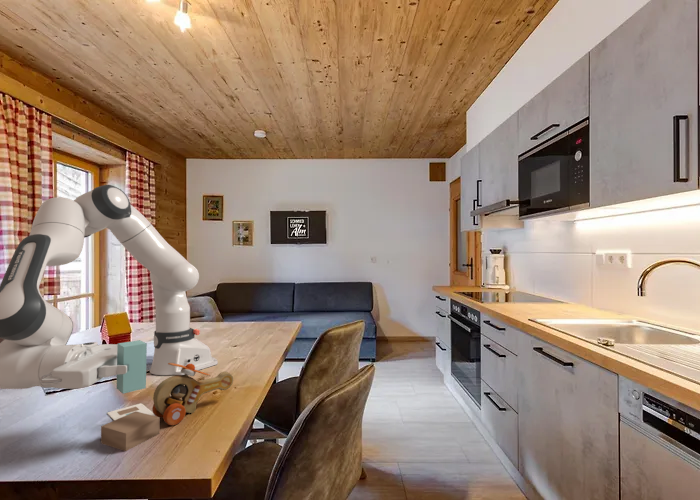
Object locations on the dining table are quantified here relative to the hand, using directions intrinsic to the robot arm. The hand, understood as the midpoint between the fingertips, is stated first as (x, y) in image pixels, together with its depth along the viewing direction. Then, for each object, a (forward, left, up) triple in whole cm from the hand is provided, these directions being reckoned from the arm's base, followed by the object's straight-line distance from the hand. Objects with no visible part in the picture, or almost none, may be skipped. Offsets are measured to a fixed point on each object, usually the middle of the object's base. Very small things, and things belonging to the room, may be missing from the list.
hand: (136, 363), depth 80 cm
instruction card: (-3, -14, -17) cm, 22 cm away
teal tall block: (+1, -1, -5) cm, 6 cm away
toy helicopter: (-15, -4, -17) cm, 23 cm away
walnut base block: (+1, -1, -17) cm, 17 cm away
